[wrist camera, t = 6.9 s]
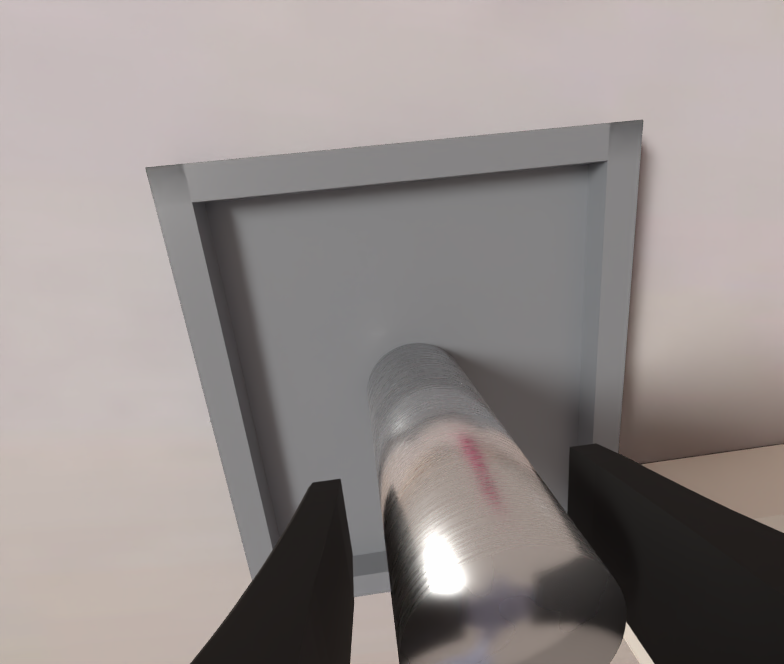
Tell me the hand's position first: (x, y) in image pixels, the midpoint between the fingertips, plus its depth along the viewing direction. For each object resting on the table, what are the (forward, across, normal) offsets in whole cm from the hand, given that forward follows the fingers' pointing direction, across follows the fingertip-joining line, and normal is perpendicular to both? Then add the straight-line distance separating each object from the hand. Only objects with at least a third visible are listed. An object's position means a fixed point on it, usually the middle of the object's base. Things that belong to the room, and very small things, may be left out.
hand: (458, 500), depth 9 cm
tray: (+6, 0, 0) cm, 6 cm away
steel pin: (+6, 0, 0) cm, 6 cm away
